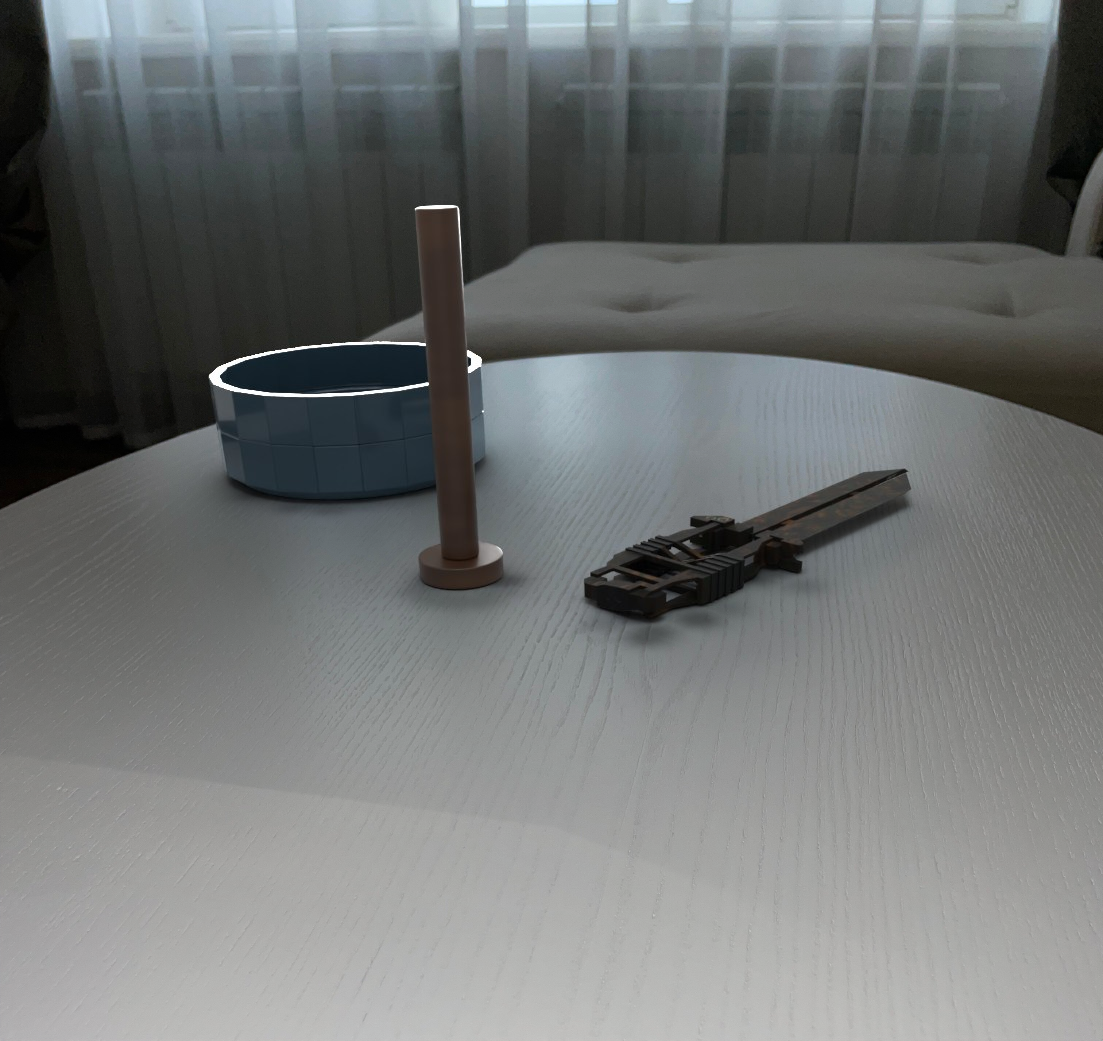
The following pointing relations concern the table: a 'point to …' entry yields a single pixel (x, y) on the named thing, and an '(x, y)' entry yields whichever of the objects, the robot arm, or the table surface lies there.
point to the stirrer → (450, 409)
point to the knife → (721, 532)
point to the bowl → (333, 420)
